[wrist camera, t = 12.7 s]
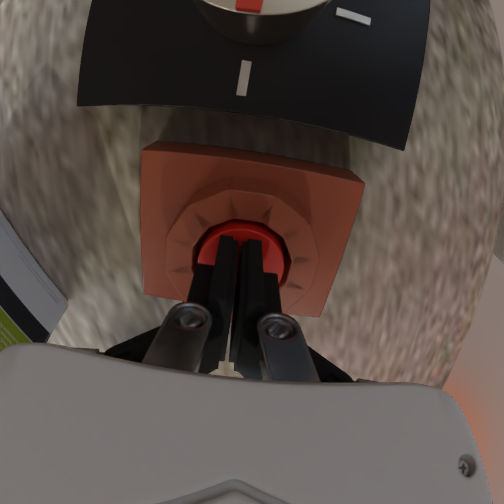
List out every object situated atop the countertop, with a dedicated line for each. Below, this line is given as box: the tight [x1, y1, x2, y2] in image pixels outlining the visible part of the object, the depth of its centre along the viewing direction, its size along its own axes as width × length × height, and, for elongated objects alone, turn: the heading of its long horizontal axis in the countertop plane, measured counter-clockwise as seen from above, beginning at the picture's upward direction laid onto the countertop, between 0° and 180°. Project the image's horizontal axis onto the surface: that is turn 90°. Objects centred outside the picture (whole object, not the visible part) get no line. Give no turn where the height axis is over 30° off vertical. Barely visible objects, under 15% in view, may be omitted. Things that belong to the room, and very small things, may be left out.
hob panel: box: [77, 0, 430, 151], centre depth 9 cm, size 14×10×3 cm
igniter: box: [140, 141, 365, 321], centre depth 14 cm, size 10×8×4 cm
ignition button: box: [198, 219, 284, 285], centre depth 13 cm, size 4×4×2 cm
